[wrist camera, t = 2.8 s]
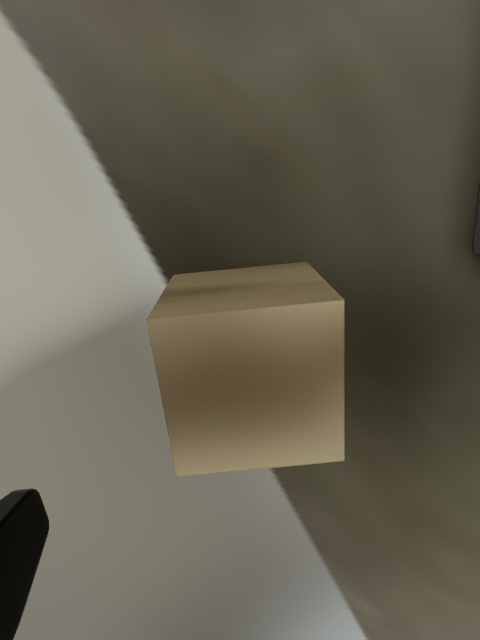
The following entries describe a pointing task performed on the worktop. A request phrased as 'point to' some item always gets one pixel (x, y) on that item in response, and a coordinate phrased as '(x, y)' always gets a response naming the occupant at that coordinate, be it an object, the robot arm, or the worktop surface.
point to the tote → (477, 231)
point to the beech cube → (250, 368)
